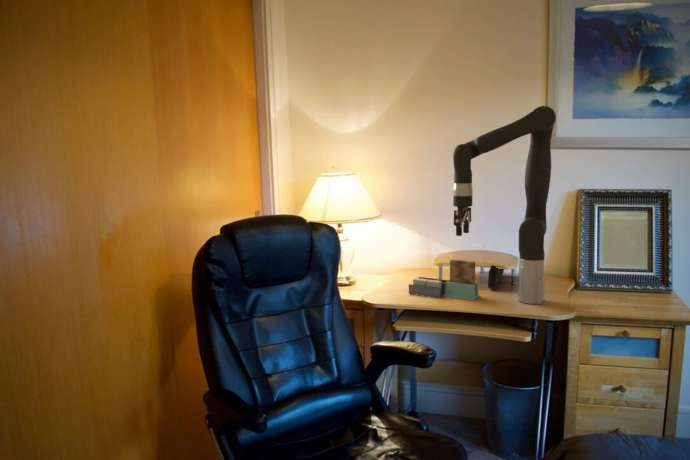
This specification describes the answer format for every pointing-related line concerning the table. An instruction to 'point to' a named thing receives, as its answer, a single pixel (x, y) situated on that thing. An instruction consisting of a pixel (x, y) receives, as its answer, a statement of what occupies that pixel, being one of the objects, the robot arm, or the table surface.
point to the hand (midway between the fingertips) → (462, 234)
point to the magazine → (494, 277)
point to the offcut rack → (429, 289)
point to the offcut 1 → (419, 281)
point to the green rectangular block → (462, 291)
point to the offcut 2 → (433, 283)
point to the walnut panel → (462, 271)
